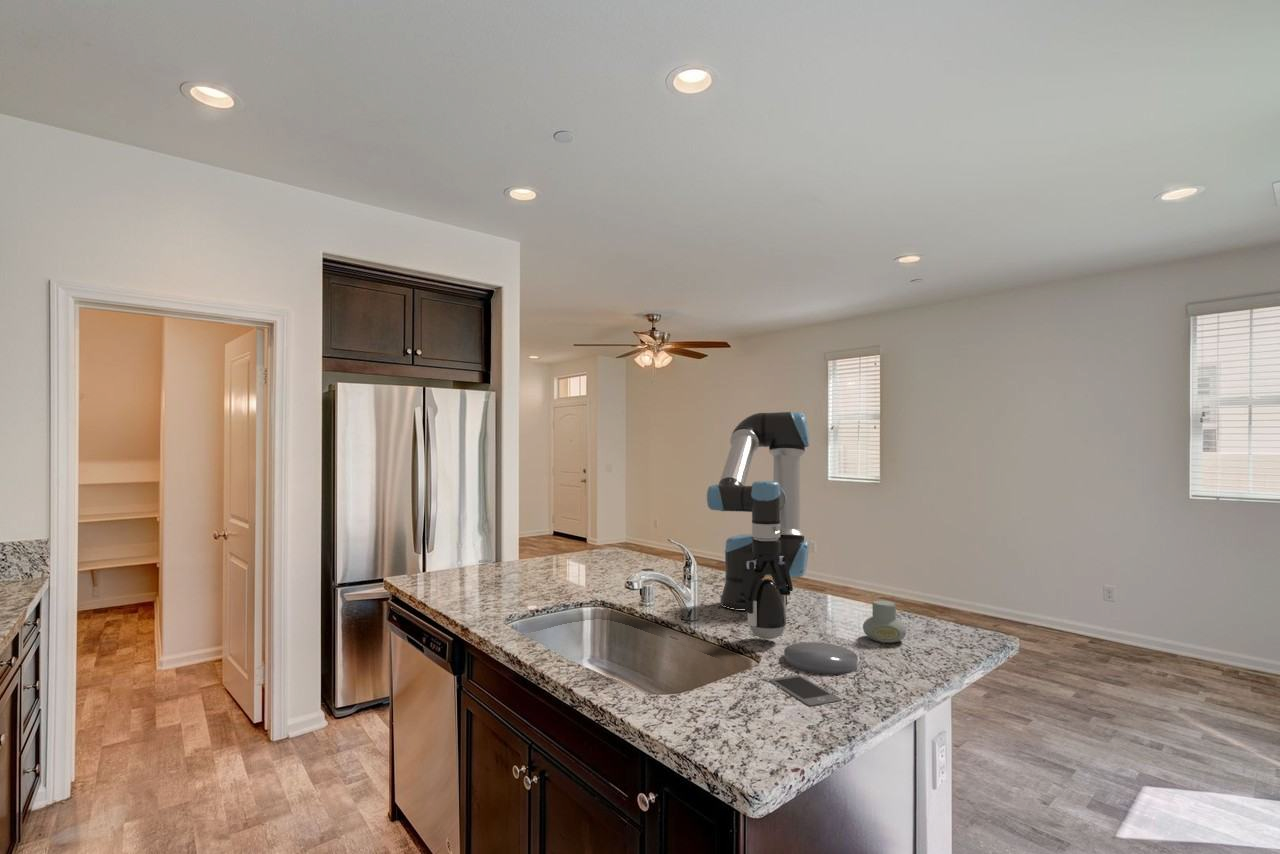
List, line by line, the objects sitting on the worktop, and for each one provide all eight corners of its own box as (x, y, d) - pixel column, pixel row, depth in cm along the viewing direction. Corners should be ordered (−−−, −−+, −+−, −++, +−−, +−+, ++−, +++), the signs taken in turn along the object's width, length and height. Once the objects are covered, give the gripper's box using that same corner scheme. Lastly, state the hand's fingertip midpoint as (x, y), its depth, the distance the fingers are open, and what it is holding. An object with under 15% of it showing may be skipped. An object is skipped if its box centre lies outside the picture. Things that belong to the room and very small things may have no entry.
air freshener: (863, 642, 163) (863, 605, 163) (862, 634, 171) (861, 597, 171) (908, 646, 160) (907, 608, 160) (904, 637, 167) (904, 600, 168)
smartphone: (767, 682, 136) (767, 679, 136) (798, 677, 139) (798, 674, 139) (809, 709, 122) (809, 705, 122) (842, 703, 125) (842, 699, 125)
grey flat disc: (816, 646, 160) (816, 638, 160) (872, 665, 146) (872, 656, 146) (769, 658, 151) (769, 649, 151) (824, 679, 136) (824, 670, 136)
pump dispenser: (791, 642, 159) (790, 583, 159) (751, 642, 159) (750, 583, 159) (782, 630, 169) (782, 574, 169) (745, 630, 169) (744, 575, 169)
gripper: (744, 544, 155) (745, 632, 154) (806, 536, 167) (807, 618, 167) (724, 540, 161) (725, 625, 161) (785, 533, 174) (786, 611, 173)
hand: (767, 621), depth 164 cm, fingers closed on pump dispenser, 10 cm apart
